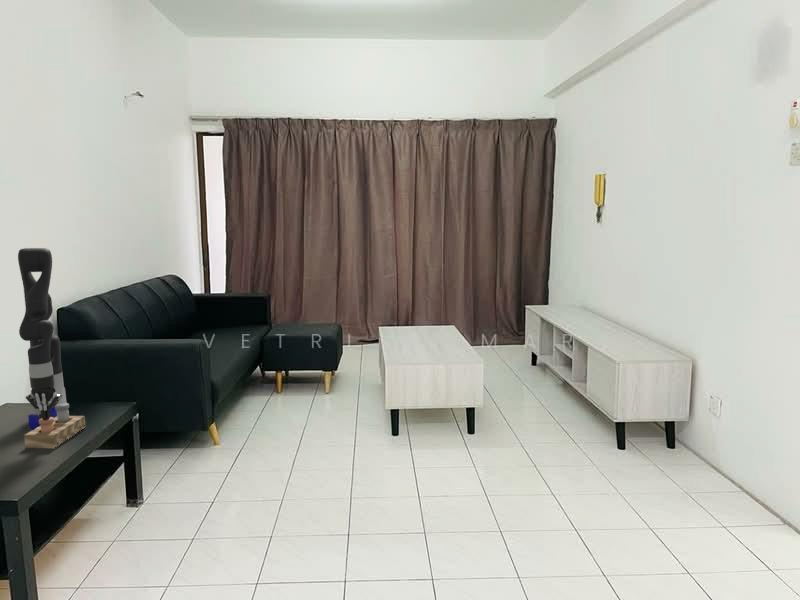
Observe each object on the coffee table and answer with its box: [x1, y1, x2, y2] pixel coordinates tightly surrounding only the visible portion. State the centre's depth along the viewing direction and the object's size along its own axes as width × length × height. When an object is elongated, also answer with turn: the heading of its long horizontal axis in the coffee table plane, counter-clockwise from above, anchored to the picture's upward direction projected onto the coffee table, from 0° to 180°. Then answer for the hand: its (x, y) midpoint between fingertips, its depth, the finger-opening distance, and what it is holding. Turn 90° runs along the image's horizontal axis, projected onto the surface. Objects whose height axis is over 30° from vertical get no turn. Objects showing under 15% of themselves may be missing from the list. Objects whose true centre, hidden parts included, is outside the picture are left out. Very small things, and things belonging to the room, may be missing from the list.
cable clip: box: [27, 407, 57, 430], centre depth 241 cm, size 12×4×6 cm, turn 169°
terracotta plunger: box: [39, 417, 54, 433], centre depth 222 cm, size 5×5×8 cm
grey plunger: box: [55, 402, 70, 423], centre depth 231 cm, size 5×5×8 cm
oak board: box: [23, 415, 87, 449], centre depth 227 cm, size 20×11×5 cm, turn 177°
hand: (46, 419), depth 221 cm, fingers closed
